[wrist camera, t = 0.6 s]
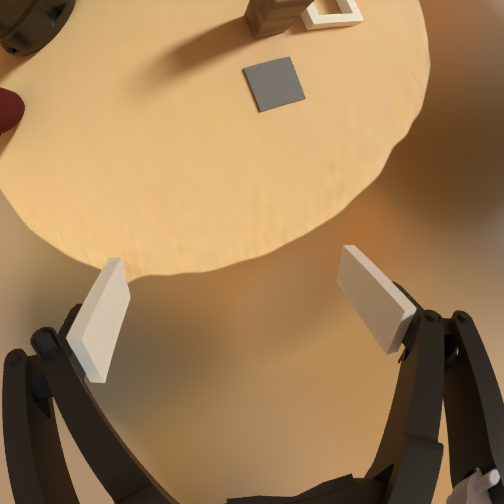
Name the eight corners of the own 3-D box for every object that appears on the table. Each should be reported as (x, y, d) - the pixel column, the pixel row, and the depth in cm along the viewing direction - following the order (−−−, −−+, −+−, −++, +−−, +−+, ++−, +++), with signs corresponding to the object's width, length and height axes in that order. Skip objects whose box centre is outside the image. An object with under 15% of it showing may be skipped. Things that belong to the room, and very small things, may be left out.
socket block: (285, -14, 25) (291, -21, 22) (334, -16, 25) (342, -23, 22) (306, 30, 29) (314, 24, 27) (355, 25, 29) (364, 21, 26)
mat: (243, 68, 31) (243, 68, 31) (289, 57, 31) (289, 56, 31) (260, 111, 35) (260, 111, 34) (304, 98, 34) (305, 98, 34)
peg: (244, 15, 27) (261, -28, 15) (272, 9, 27) (300, -32, 15) (254, 38, 29) (277, 2, 17) (283, 32, 29) (316, -3, 17)
